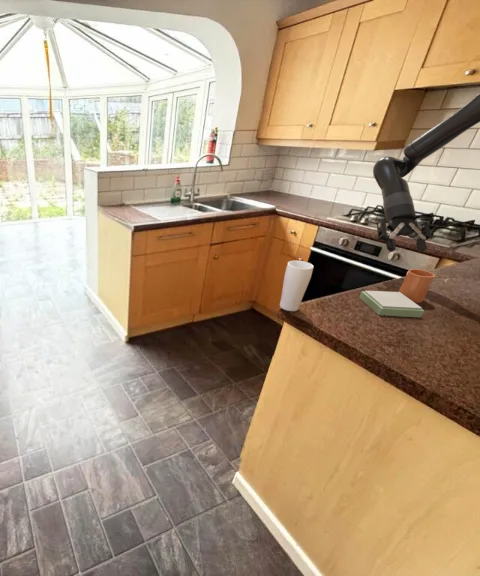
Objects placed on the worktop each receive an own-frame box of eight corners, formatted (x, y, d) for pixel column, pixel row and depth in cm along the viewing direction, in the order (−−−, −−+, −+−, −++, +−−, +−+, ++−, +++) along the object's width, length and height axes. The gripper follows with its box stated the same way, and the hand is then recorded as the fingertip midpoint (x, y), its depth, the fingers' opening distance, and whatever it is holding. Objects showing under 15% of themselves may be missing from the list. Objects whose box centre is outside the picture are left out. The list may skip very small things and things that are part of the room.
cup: (414, 294, 107) (425, 269, 103) (427, 303, 101) (440, 277, 97) (392, 293, 108) (403, 268, 104) (405, 302, 103) (417, 276, 98)
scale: (397, 299, 104) (401, 291, 103) (421, 317, 95) (426, 309, 93) (358, 297, 106) (362, 289, 105) (378, 315, 96) (382, 306, 95)
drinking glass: (278, 300, 106) (289, 258, 99) (302, 306, 103) (315, 262, 96) (274, 309, 101) (286, 266, 94) (299, 315, 98) (312, 271, 91)
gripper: (382, 202, 109) (390, 245, 104) (431, 202, 107) (441, 246, 102) (368, 213, 116) (375, 254, 112) (413, 214, 114) (422, 256, 109)
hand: (407, 251), depth 107 cm, fingers open, 8 cm apart
